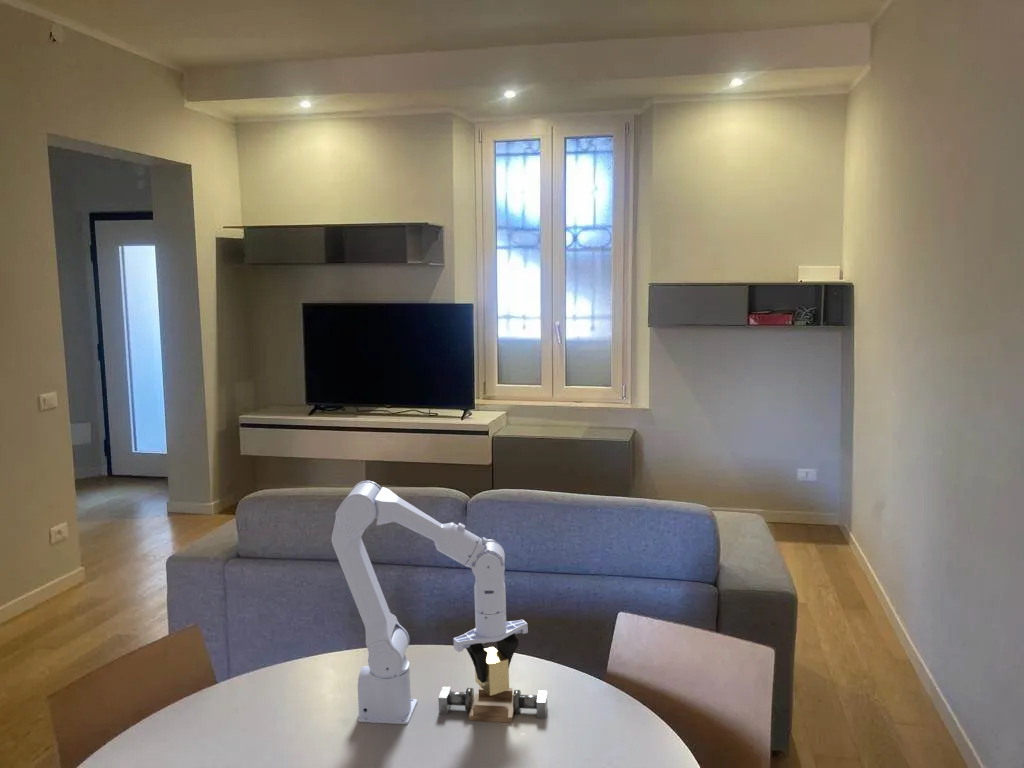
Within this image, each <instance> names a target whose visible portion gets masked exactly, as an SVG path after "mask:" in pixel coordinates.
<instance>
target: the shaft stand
mask: <svg viewBox="0 0 1024 768" xmlns="http://www.w3.org/2000/svg"><path fill="white" fill-rule="evenodd" d="M537 691H538V693H537V694H522V693H521V692H522V691H521V690H520V689H514V690H513V687H509V690H507V691H504V692H501V693H497V694H494V695H491V696H490V695H489V694H488V693H487V692H486V691H485V690H484V689H483V688H482V687H481V686H479V687H478V693H475V691H474V688H473V687H467V688H466V690H465V691H452V686H442V688H441V690H440V693H439V695H438V714H439V715H448V713H449V711H450V708H451V706H458V707H459V706H461V707H464V709H465V711H467V712H468V711H469V714H468V721H470V722H471V721H472V722H491V723H492V722H493V723H496V722H497V723H511V724H512V723H513V720H514V716H515V715H514V714H519V713H521V709H526V710H527V709H528V710H536V719H545V720H546V718H547V711H548V690H537Z"/></svg>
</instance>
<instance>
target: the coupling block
mask: <svg viewBox="0 0 1024 768" xmlns="http://www.w3.org/2000/svg"><path fill="white" fill-rule="evenodd" d="M484 650H485V651H487V652H488V654H487V659H486V682H484V683H482V682H481V681H480V680H479V679H478V678H477V673H476V670H475V669H474V672H475V673H474V674H475V675H474V676H475V679H474V680H475V682H476V684H477V685H478V686H479V687H482V688H483V689H484V690H485V691H486V692H487V693H488V694H489V695H490V696H491V695H494V694H497V693H501V692H504V691H507V690H509V688H510V673H509V671H510V670H509V669H510V666H509V667H508V659H507V658H506V657H505V656H504V655H503V654H501V653H500V652H499V651H498V648H495V647H494V646H489V647H486V648H484Z"/></svg>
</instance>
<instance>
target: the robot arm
mask: <svg viewBox="0 0 1024 768" xmlns="http://www.w3.org/2000/svg"><path fill="white" fill-rule="evenodd" d="M334 519H335V520H334V524H333V528H332V534H331V543H332V544H331V545H332V547H333V549H334V552H335V554H336V557H337V560H338V563H339V564H340V567H341V570H342V572H343V574H344V577H345V580H346V582H347V585H348V588H349V590H350V593H351V595H352V598H353V601H354V603H355V606H356V607H357V610H358V613H359V615H360V617H361V621H362V623H363V626H364V630H365V646H366V649H367V652H368V657H367V663H368V665H363V666H362V667H361V668H360V671H359V675H358V679H357V700H358V719H357V721H358V722H359V723H374V724H392V725H393V724H394V725H408V724H409V723H410V719H411V718H412V715H413V713H414V711H415V708H416V706H417V704H418V699H416V698H412V696H411V695H412V693H411V671H410V661H409V659H408V658H407V657H406V652H407V649H408V648H409V644H410V635H409V632H408V631H407V630H406V628H404V627H403V626H402V625H401V624H400V623H399V621H398V618H397V616H396V615H395V614H393V613H391V610H390V608H389V606H388V603H387V600H386V598H385V596H384V593H383V591H382V588H381V585H380V582H379V580H378V578H377V575H376V572H375V569H374V567H373V564H372V562H371V560H370V557H369V553H368V552H367V549H366V547H365V544H364V541H363V539H362V536H363V534H364V532H365V531H366V529H367V528H368V527H369V526H370V525H371V524H372V523H373V522H374V520H375V519H376V526H380V525H386V524H389V523H397V524H399V525H401V526H402V527H405V528H407V529H409V530H411V531H413V532H414V533H417V534H419V535H421V536H423V537H424V538H428V539H429V540H432V541H433V543H434V545H435V549H436V550H437V552H440V553H441V554H443V555H445V556H447V557H448V558H450V559H452V560H454V561H456V562H457V563H459V564H461V565H463V566H464V567H466V568H470V569H471V572H472V574H473V576H474V578H475V579H474V580H475V582H474V586H473V589H474V590H473V591H474V592H473V593H474V618H475V619H474V622H475V627H474V628H473V629H471V630H469V631H467V632H465V633H464V634H461V635H458V636H456V637H453V639H452V640H453V648H454V650H455V651H457V653H460V652H463V651H464V650H465V649H466V651H467V653H468V655H469V657H470V659H471V661H472V663H473V665H474V666H473V667H474V671H475V670H476V673H477V678H478V679H479V680H480V681H481V682H482V683H484V682H486V659H487V654H488V652H487V651H485V650H484V649H485V647H484V645H483V644H486V643H495V642H496V646H497V648H496V649H497V650H498V651H499V652H500V653H501V654H503V655H504V656H505V657H506V658H507V659H508V667H509V668H510V665H511V661H512V659H513V655H514V654H515V651H516V650H517V648H518V647H519V642H520V641H519V638H517V637H516V635H518V634H522V635H523V634H524V635H525V634H528V633H529V630H528V623H527V622H526V621H525V620H524V619H519V620H510V621H507V602H506V601H507V599H506V583H505V578H506V577H505V570H506V566H505V562H506V559H505V557H506V554H505V550H504V548H503V546H502V545H501V544H499V542H498V541H496V540H495V539H492V538H491V539H488V538H486V537H485V536H482V538H481V537H479V536H478V535H476V534H475V533H472V532H471V531H470V530H467V529H466V525H465V524H463V523H461V522H459V523H458V524H456V523H455V522H453V521H452V522H451V521H450V522H448V523H441V522H439V521H438V520H436V519H435V518H433V517H432V516H430V515H429V514H426V513H425V512H423V511H422V510H420V509H419V508H417V507H416V506H414V505H413V504H411V503H409V502H408V501H406V500H404V499H403V498H402V497H399V496H398V495H397V494H396V493H394V492H393V491H392V490H391V489H389V488H387V487H385V486H382V487H381V485H379V484H378V483H377V482H375V481H371V480H362V481H360V482H358V483H356V484H355V485H354V486H353V487H352V489H351V491H350V492H349V493H348V495H347V496H346V497H345V498H344V499H343V501H342V502H341V503H340V505H339V507H338V508H337V509H336V511H335V518H334Z"/></svg>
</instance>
